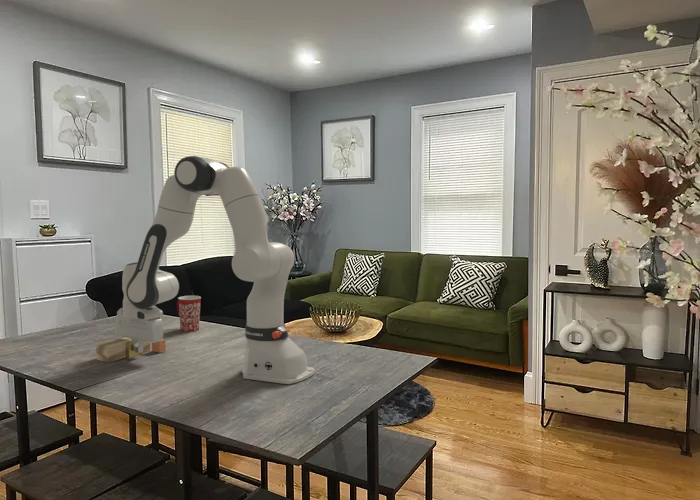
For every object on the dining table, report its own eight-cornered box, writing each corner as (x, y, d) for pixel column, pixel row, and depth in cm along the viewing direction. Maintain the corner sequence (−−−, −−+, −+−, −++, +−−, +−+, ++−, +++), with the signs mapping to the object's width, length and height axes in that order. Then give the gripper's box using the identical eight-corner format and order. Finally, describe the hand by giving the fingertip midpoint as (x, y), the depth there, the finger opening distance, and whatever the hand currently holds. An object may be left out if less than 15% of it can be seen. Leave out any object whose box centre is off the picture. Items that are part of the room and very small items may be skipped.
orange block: (165, 351, 169) (165, 339, 169) (159, 352, 167) (159, 341, 167) (157, 349, 171) (157, 338, 171) (152, 351, 169) (151, 339, 169)
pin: (141, 354, 165) (141, 340, 165) (129, 358, 161) (128, 343, 161) (113, 348, 173) (113, 334, 173) (101, 351, 169) (100, 337, 169)
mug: (206, 329, 202) (205, 297, 201) (186, 333, 195) (186, 300, 194) (188, 325, 210) (188, 293, 209) (169, 328, 203) (168, 296, 202)
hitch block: (150, 350, 170) (150, 336, 170) (107, 362, 156) (107, 347, 156) (139, 348, 173) (138, 334, 173) (96, 359, 159) (95, 344, 159)
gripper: (109, 308, 164) (110, 349, 165) (149, 315, 153) (150, 358, 154) (126, 305, 169) (127, 345, 170) (166, 312, 159) (167, 353, 160)
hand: (138, 351), depth 162 cm, fingers closed
